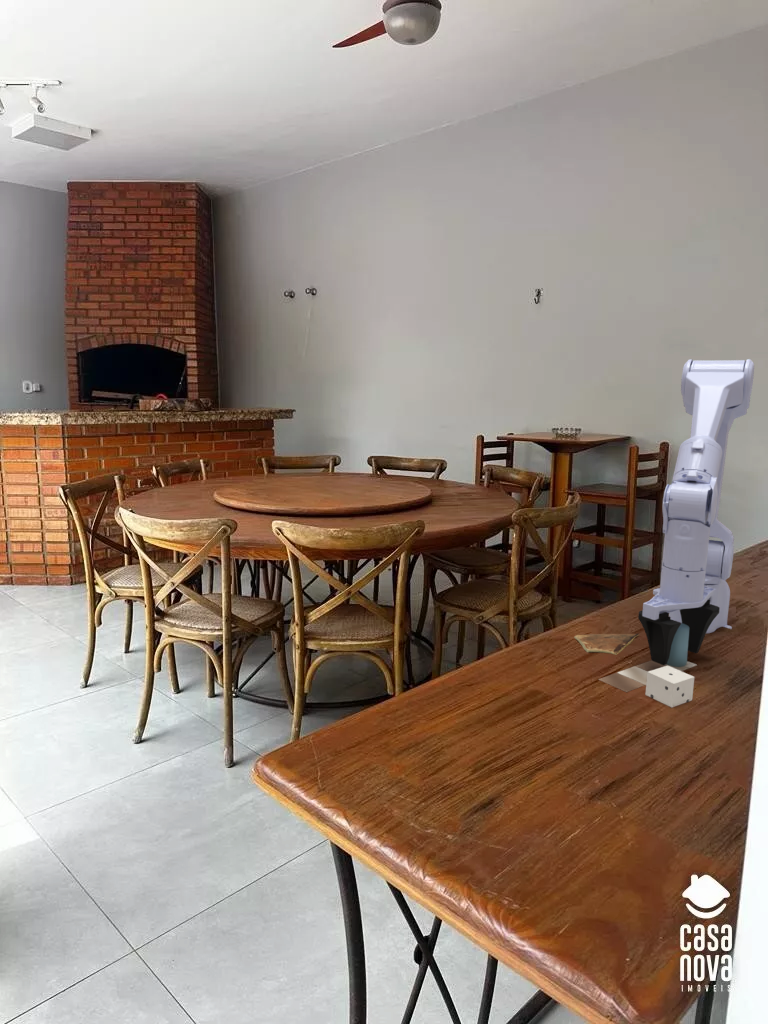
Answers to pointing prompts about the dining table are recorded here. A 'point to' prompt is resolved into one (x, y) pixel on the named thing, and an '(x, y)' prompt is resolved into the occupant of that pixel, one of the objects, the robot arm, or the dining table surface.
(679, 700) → the die
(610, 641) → the shard
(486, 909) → the dining table surface
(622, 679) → the board
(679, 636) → the blue capsule cylinder
